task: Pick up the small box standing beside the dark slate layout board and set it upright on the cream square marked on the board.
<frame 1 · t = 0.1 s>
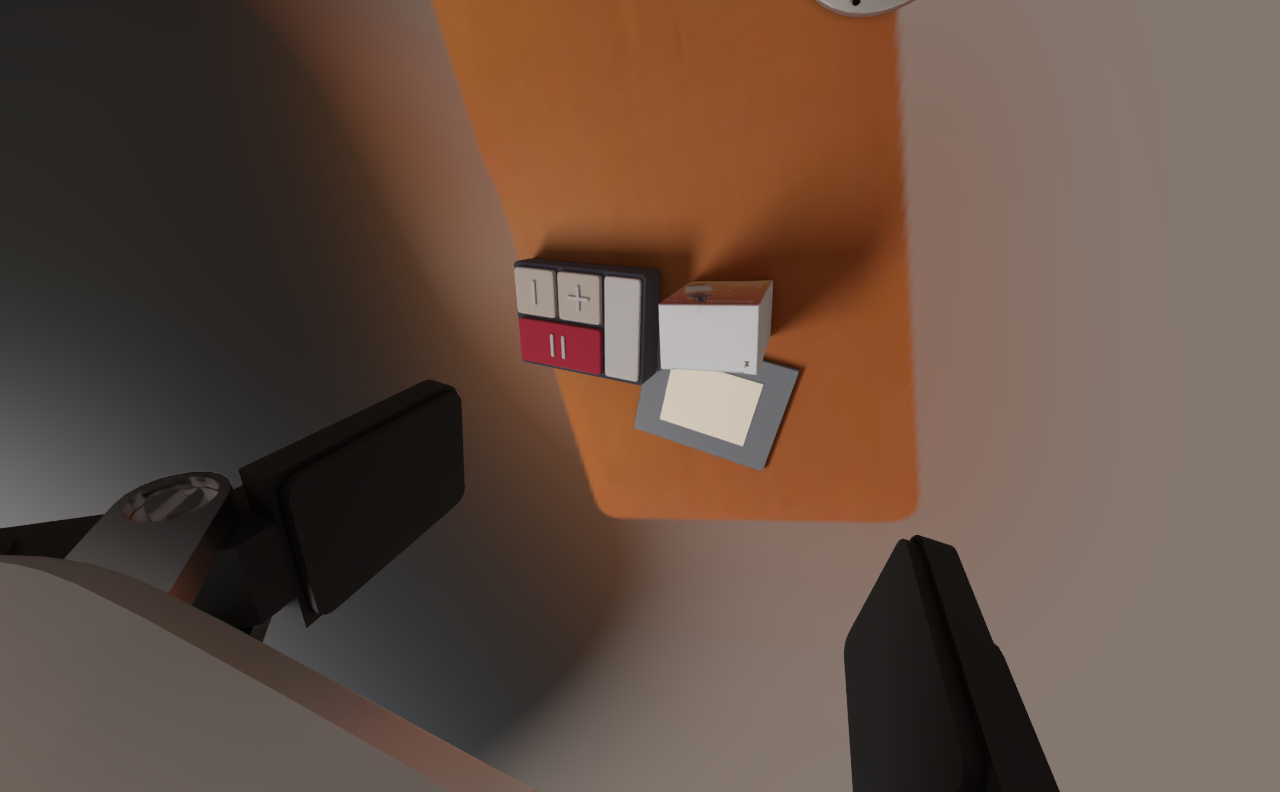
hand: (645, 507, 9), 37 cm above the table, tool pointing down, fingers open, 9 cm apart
layout board: (709, 400, 48), on the table
small box: (730, 308, 44), on the table
calculator: (593, 315, 49), on the table, touching layout board
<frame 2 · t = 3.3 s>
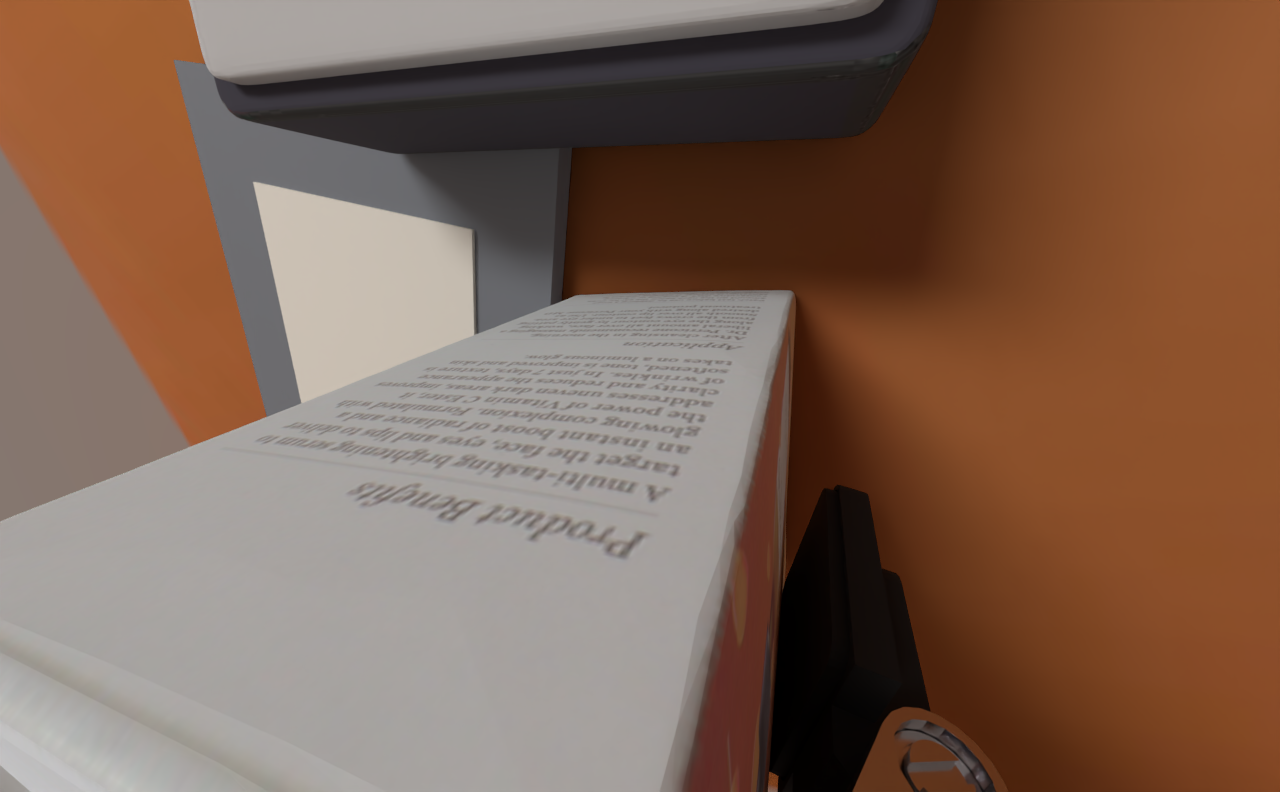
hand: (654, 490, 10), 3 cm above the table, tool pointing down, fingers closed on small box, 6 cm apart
layout board: (393, 358, 15), on the table
small box: (687, 430, 13), on the table, touching gripper
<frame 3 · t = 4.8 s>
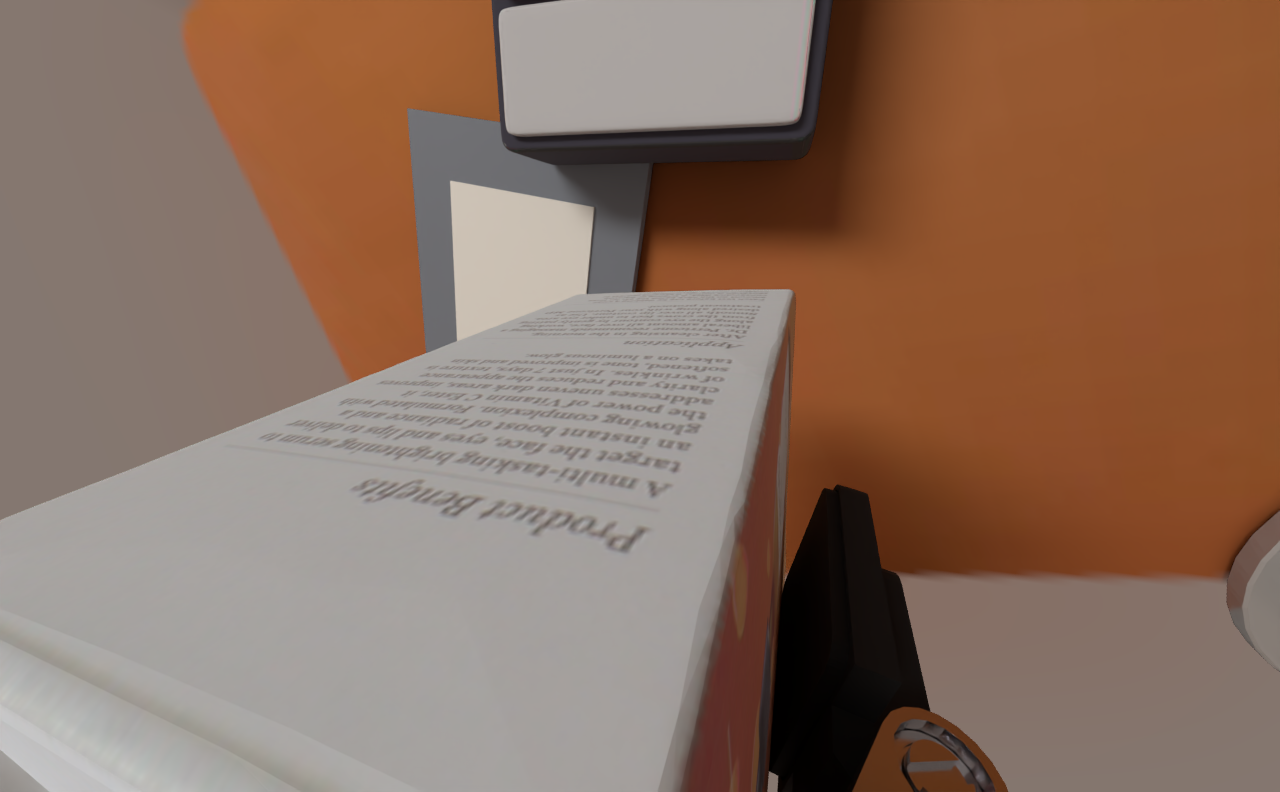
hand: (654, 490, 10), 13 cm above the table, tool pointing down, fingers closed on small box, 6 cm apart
layout board: (524, 291, 24), on the table
small box: (687, 429, 13), point 10 cm above the table, touching gripper
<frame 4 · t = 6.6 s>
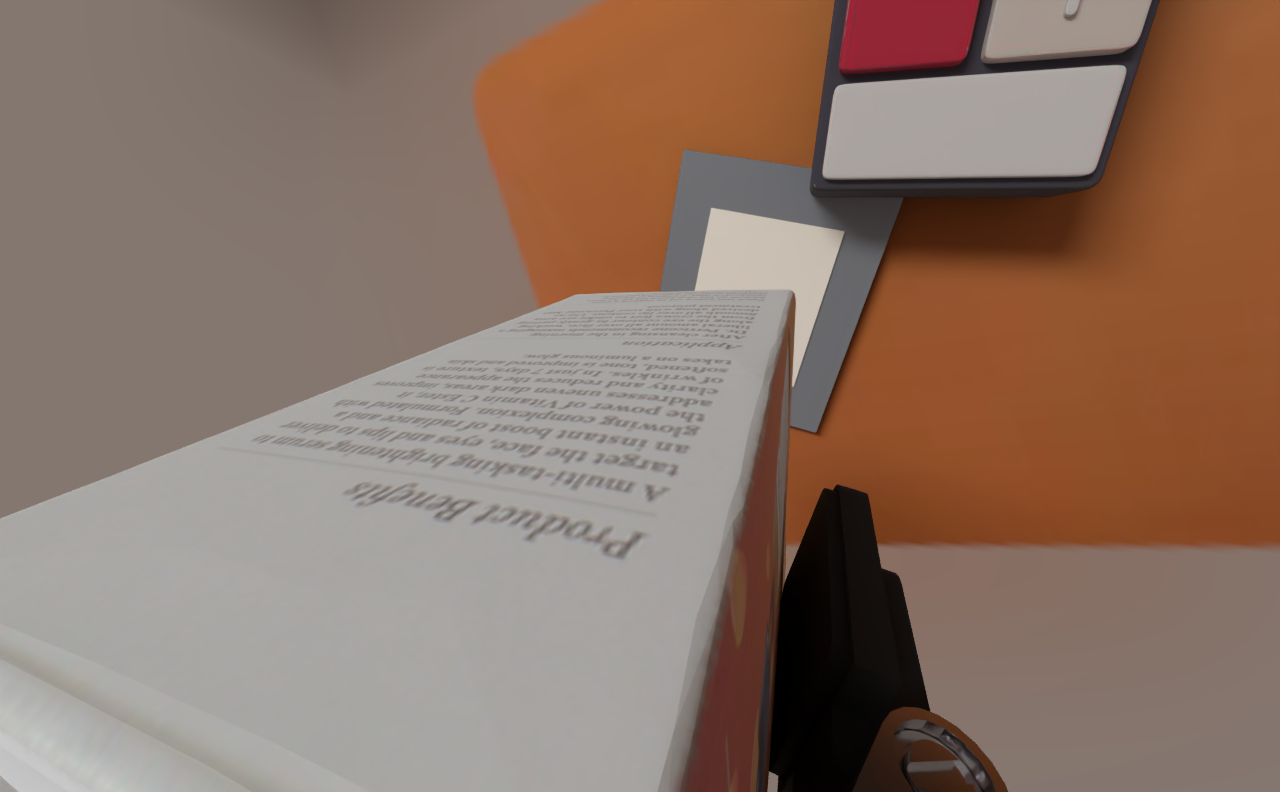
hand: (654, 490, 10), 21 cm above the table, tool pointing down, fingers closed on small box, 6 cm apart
layout board: (755, 299, 28), on the table
small box: (686, 430, 12), point 18 cm above the table, touching gripper
calculator: (961, 14, 20), on the table, touching layout board
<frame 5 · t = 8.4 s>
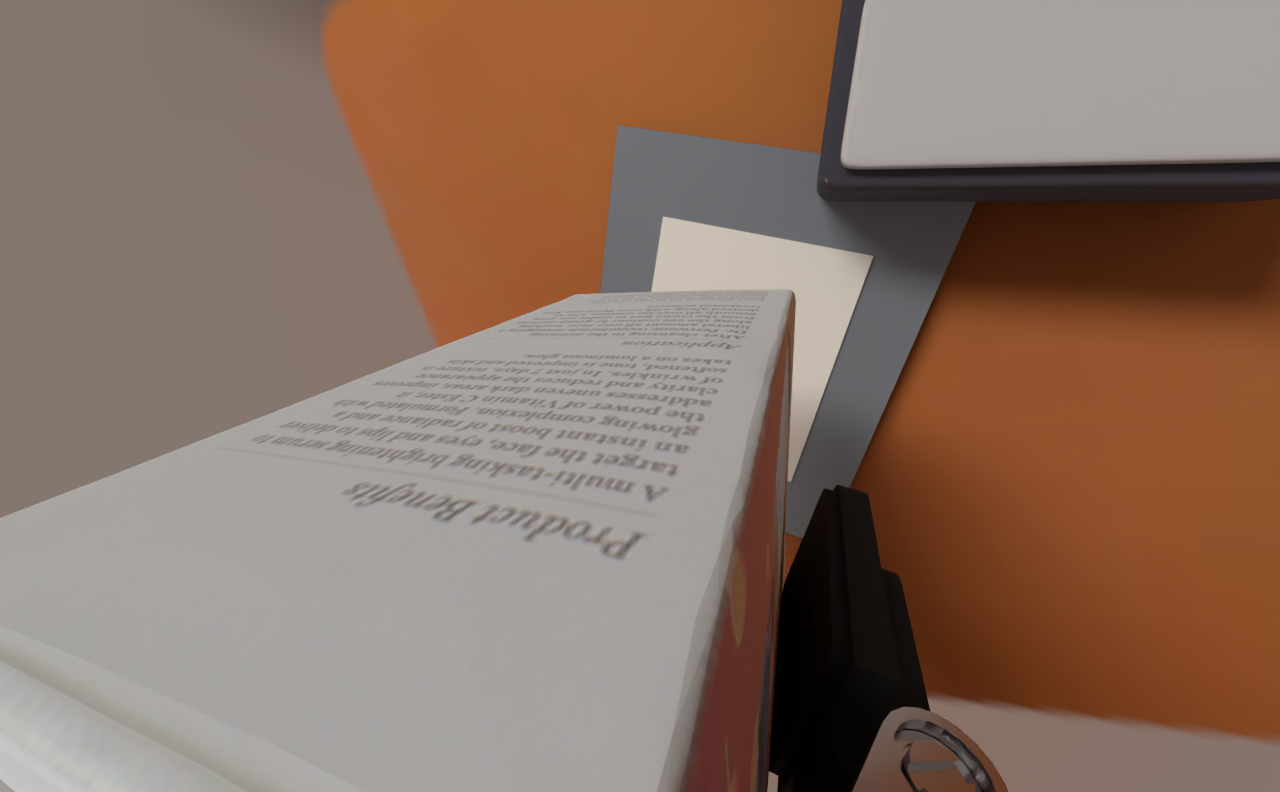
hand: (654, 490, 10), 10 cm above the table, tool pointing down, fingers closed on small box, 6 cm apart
layout board: (733, 352, 19), on the table
small box: (686, 430, 12), point 7 cm above the table, touching gripper
when the fingers open (5 cm above the table, at t = 10.0 s): small box drops 1 cm, resting on layout board.
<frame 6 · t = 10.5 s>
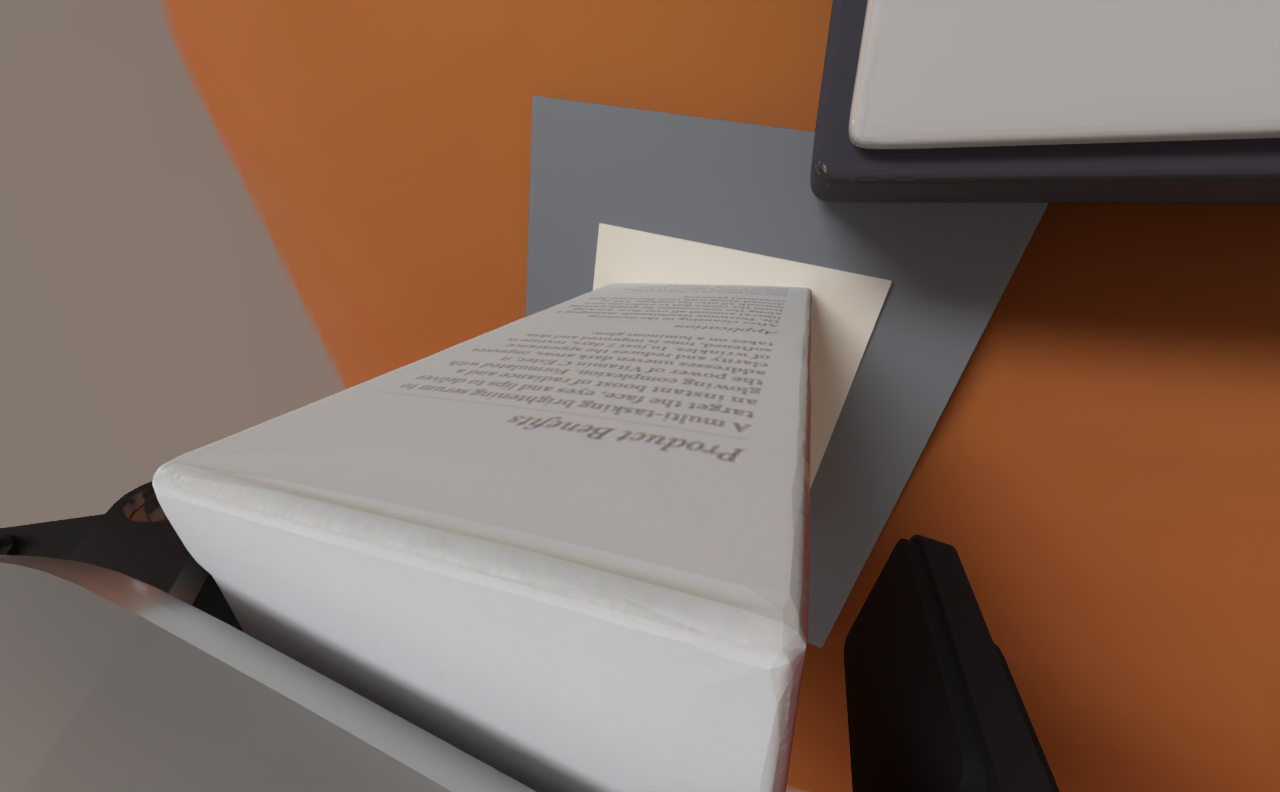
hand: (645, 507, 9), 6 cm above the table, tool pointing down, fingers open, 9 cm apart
layout board: (701, 403, 14), on the table
small box: (703, 412, 14), point 1 cm above the table, touching layout board
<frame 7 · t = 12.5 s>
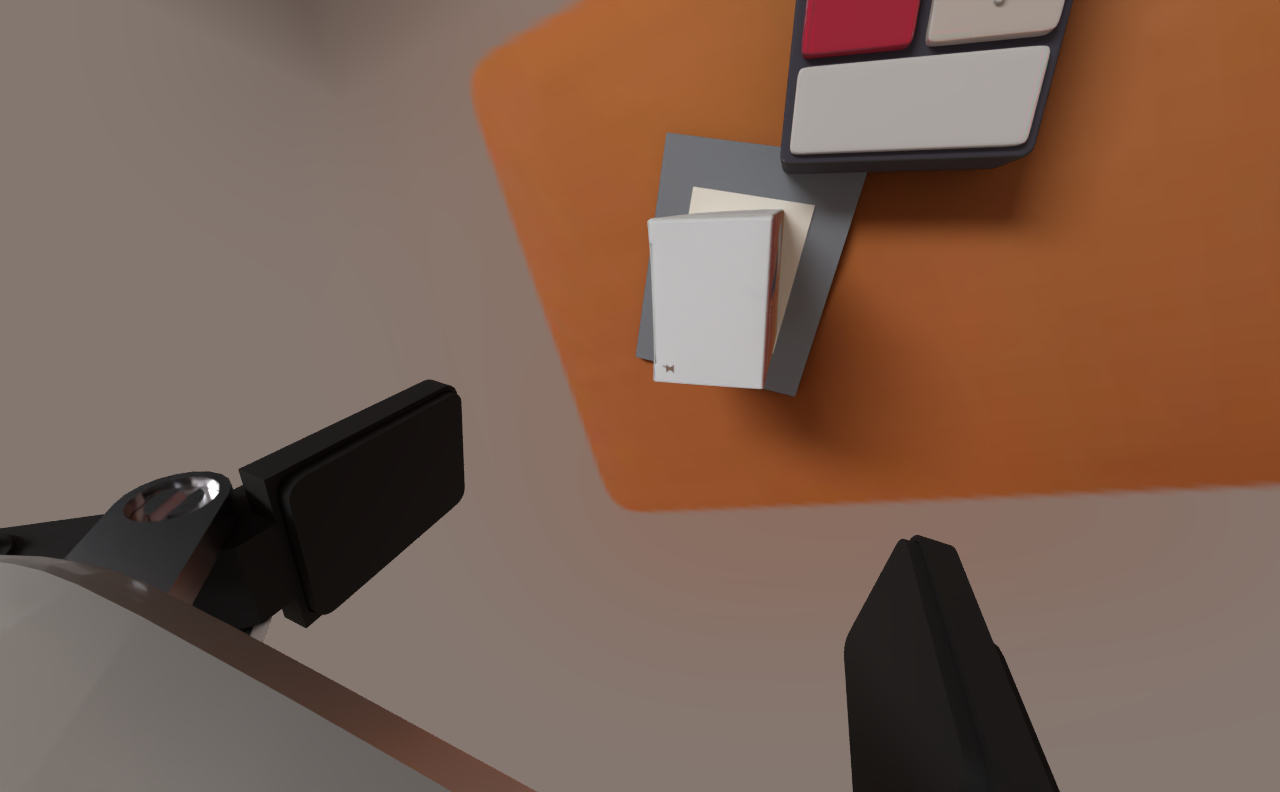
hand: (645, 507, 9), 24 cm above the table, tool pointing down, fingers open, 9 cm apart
layout board: (736, 271, 30), on the table
small box: (737, 273, 30), point 1 cm above the table, touching layout board
calculator: (912, 4, 23), on the table, touching layout board
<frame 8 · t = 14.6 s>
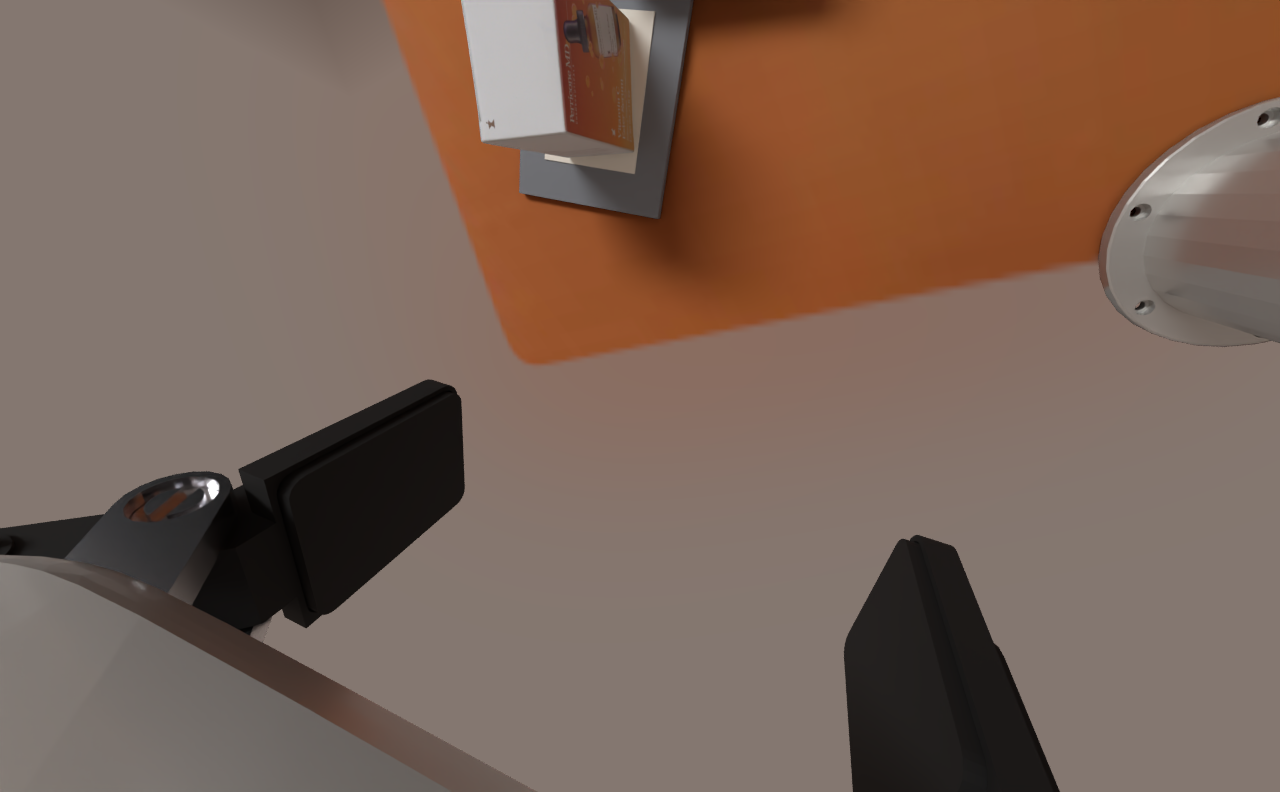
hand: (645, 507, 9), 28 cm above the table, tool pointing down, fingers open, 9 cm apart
layout board: (598, 94, 33), on the table
small box: (597, 93, 32), point 1 cm above the table, touching layout board
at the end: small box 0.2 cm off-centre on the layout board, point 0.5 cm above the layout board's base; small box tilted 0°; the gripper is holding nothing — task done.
